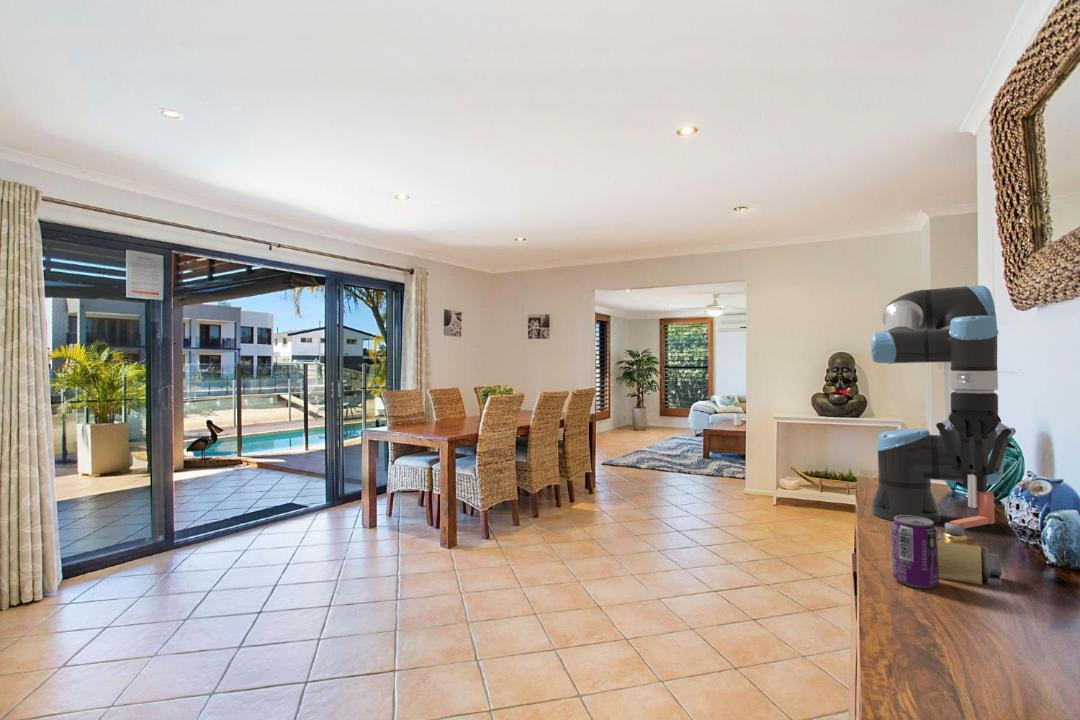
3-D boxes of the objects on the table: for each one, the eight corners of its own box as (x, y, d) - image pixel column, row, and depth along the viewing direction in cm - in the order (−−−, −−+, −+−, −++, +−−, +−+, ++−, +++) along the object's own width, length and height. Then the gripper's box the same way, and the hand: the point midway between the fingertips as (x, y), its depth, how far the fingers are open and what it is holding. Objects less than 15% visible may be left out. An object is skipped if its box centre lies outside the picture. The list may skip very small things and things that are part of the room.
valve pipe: (914, 563, 109) (912, 525, 109) (995, 575, 102) (994, 534, 102) (916, 574, 104) (915, 533, 104) (1003, 587, 97) (1001, 544, 97)
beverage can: (947, 592, 96) (944, 526, 96) (903, 589, 97) (901, 524, 97) (926, 576, 103) (924, 514, 103) (886, 574, 104) (884, 513, 104)
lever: (958, 535, 101) (956, 500, 101) (941, 531, 104) (940, 496, 104) (999, 527, 106) (998, 493, 106) (982, 523, 108) (981, 490, 109)
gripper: (928, 390, 112) (930, 501, 112) (1004, 394, 101) (1006, 517, 101) (946, 389, 115) (947, 496, 116) (1021, 392, 104) (1022, 511, 104)
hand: (974, 506), depth 108 cm, fingers closed
